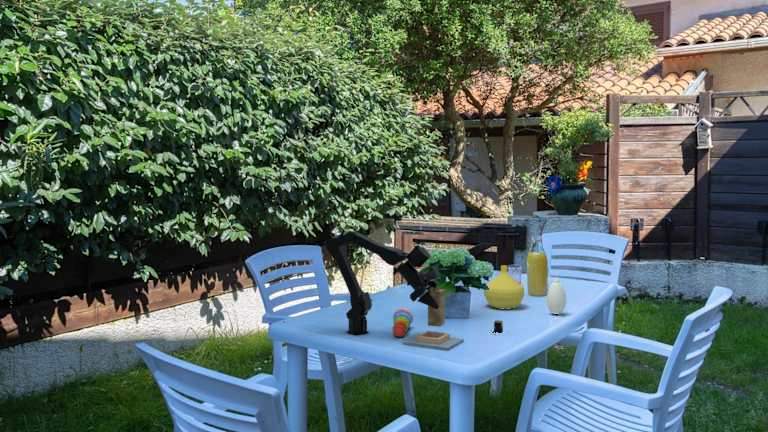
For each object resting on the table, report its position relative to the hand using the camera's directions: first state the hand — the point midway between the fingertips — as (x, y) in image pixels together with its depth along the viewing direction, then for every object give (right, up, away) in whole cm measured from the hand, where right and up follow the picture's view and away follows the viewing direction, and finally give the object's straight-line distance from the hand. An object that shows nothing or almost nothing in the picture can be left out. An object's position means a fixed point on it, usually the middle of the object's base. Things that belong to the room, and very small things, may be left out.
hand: (439, 307), depth 250 cm
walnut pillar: (-1, -7, +1) cm, 7 cm away
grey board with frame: (-3, -13, -3) cm, 13 cm away
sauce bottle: (+54, -9, +43) cm, 70 cm away
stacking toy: (-13, -7, +22) cm, 27 cm away
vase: (+34, -8, +59) cm, 69 cm away
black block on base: (+24, -12, +14) cm, 30 cm away
